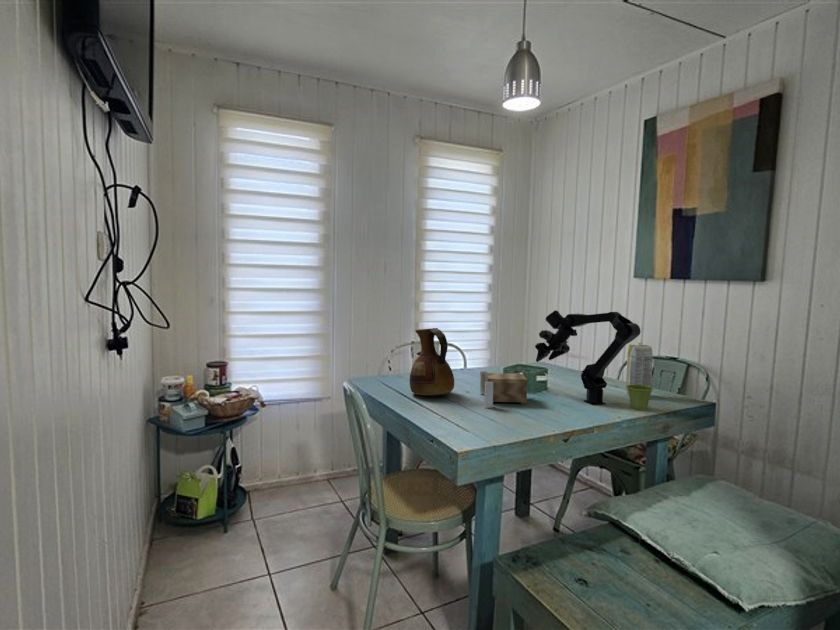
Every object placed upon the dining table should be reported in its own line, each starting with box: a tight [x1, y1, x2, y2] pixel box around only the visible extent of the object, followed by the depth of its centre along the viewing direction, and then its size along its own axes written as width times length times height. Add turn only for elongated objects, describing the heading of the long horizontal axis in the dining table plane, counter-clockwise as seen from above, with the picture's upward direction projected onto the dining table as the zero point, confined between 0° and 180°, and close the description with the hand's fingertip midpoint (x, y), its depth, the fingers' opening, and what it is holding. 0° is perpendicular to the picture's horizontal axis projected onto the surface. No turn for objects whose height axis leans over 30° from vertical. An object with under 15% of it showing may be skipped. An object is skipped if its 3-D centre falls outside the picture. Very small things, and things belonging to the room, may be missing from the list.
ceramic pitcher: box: [409, 327, 455, 396], centre depth 204 cm, size 20×20×30 cm
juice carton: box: [625, 342, 654, 397], centre depth 207 cm, size 9×8×24 cm
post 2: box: [484, 382, 494, 409], centre depth 186 cm, size 3×3×10 cm
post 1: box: [479, 370, 489, 395], centre depth 208 cm, size 3×3×10 cm
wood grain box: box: [483, 372, 528, 406], centre depth 197 cm, size 16×12×10 cm
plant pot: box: [627, 385, 654, 411], centre depth 187 cm, size 9×9×9 cm
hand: (542, 360), depth 216 cm, fingers open, 9 cm apart
